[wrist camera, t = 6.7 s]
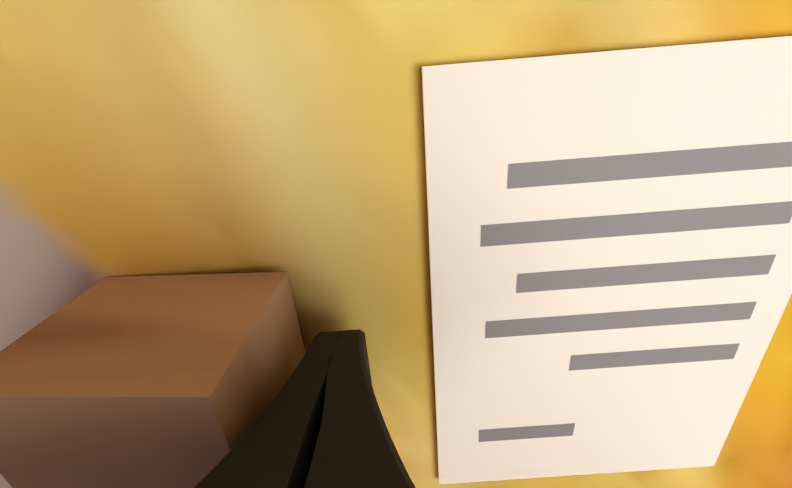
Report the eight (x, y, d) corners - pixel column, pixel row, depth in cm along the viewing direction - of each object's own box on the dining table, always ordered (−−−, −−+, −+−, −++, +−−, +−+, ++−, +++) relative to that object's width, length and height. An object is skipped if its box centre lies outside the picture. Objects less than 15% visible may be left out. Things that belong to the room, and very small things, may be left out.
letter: (709, 460, 14) (713, 465, 14) (438, 478, 14) (439, 484, 14) (901, 26, 8) (912, 26, 8) (421, 66, 8) (422, 66, 8)
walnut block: (318, 409, 12) (273, 560, 9) (167, 408, 13) (65, 551, 9) (287, 271, 10) (208, 397, 6) (105, 276, 10) (-64, 396, 7)
